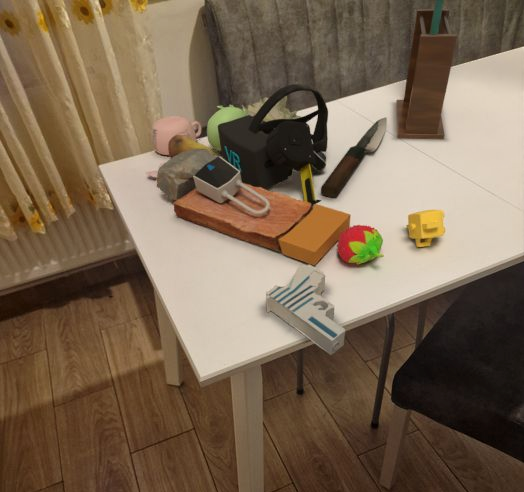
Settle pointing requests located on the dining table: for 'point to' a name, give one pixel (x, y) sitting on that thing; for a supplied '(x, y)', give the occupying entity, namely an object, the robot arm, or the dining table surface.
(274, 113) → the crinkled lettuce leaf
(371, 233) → the strawberry
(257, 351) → the dining table surface
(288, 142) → the tape measure
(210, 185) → the padlock
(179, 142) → the fruit
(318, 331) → the toy gun
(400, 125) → the wooden rack
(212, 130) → the green curved piece
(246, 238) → the wooden plank
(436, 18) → the green t-shaped stand
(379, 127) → the kitchen knife
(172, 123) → the mug
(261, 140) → the virtual reality headset
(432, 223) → the yellow studded block
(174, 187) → the stone
